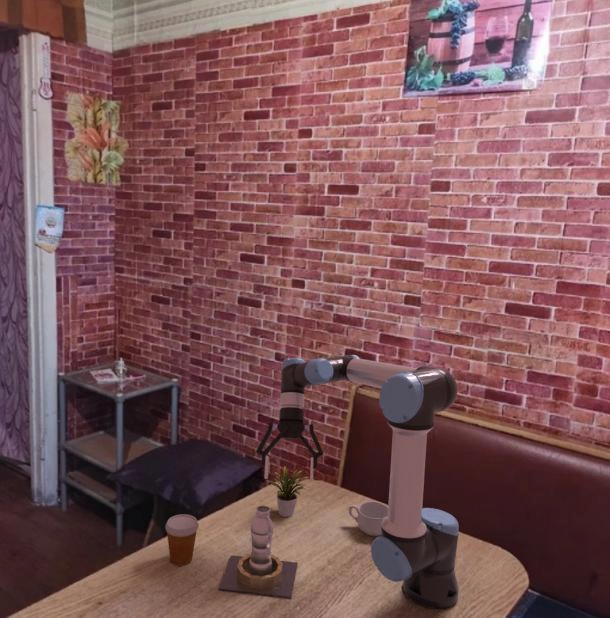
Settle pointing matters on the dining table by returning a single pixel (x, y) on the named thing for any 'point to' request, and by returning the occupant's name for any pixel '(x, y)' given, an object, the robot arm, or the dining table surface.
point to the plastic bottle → (261, 542)
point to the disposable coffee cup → (181, 538)
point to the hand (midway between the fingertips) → (288, 479)
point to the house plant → (288, 492)
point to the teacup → (370, 516)
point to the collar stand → (259, 578)
